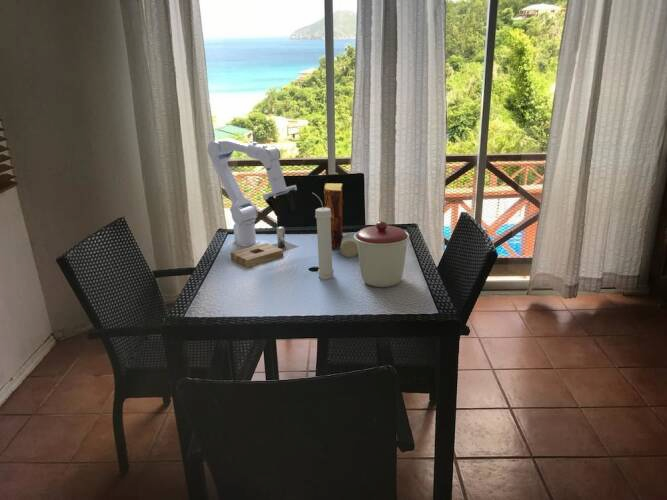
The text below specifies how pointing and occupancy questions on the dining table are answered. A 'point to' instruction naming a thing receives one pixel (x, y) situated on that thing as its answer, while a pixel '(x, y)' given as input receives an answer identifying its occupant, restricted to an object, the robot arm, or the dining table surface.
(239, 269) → the dining table surface
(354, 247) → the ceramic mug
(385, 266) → the canister
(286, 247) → the mat
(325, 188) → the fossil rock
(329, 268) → the white tall cylinder
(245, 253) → the block
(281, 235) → the peg
